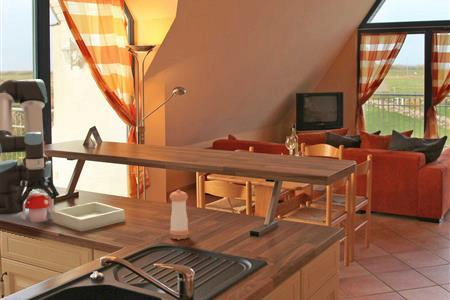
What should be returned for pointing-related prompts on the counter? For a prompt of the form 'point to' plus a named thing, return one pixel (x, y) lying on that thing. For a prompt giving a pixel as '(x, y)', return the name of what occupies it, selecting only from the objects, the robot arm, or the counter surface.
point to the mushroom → (37, 207)
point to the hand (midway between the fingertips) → (37, 215)
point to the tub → (88, 216)
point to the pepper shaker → (179, 213)
